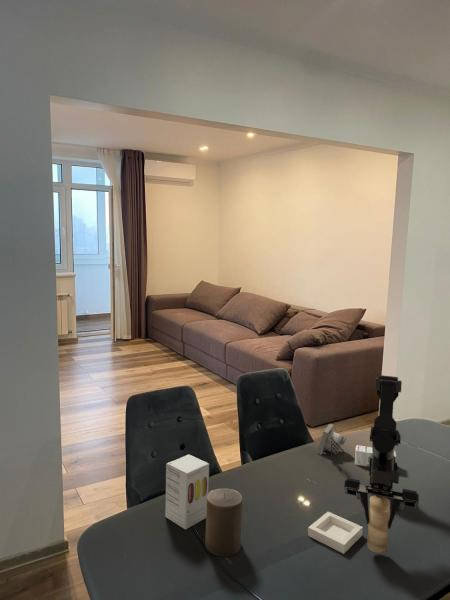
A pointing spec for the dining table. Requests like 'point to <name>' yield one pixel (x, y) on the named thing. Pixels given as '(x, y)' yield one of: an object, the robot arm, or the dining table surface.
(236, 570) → the dining table surface
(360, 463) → the syrup box
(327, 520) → the tool holder
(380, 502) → the wooden tool handle
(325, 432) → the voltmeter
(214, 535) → the pillar candle
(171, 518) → the supplement box
